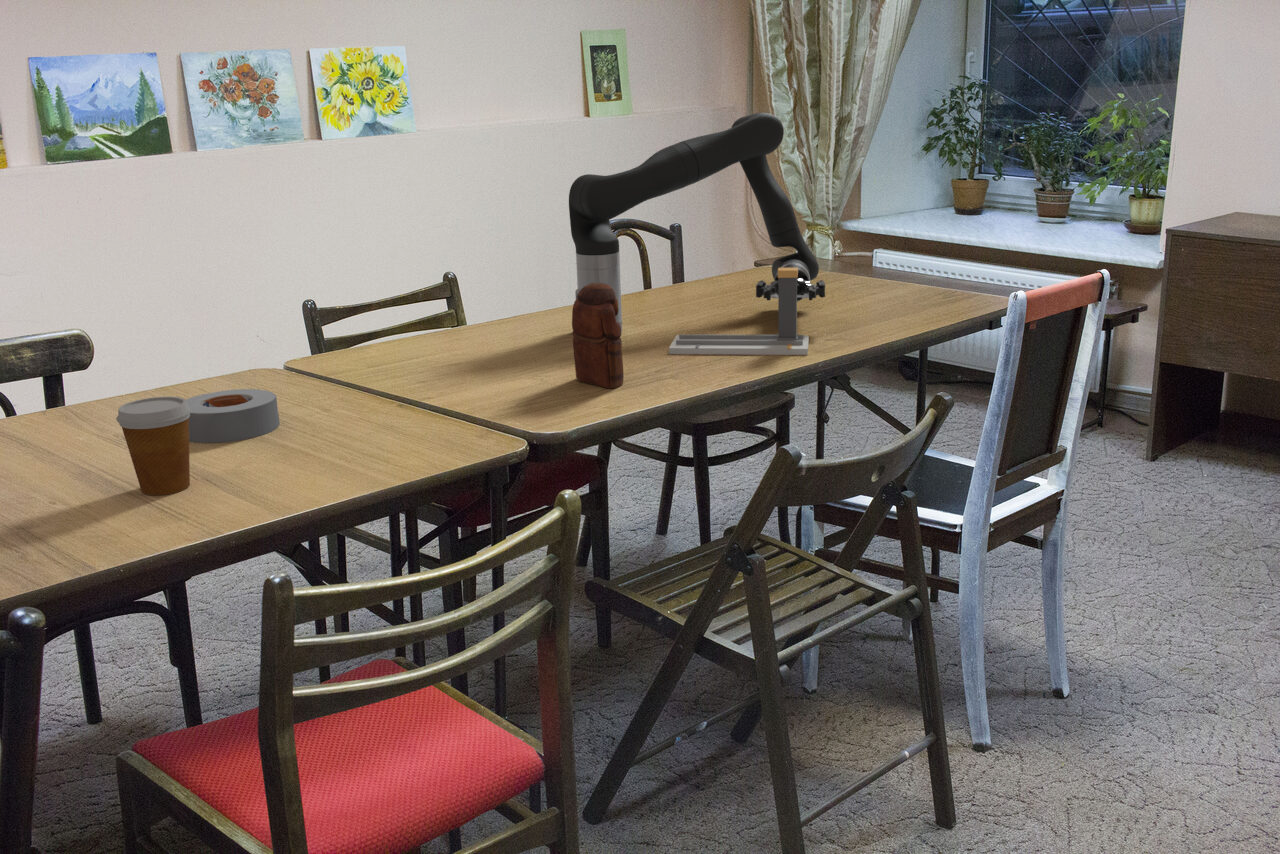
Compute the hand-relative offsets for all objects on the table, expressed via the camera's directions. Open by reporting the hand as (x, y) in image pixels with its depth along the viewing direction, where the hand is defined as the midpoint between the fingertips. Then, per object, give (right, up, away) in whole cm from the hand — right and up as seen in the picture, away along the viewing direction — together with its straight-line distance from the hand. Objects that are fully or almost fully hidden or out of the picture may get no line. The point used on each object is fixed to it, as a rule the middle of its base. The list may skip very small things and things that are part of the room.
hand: (789, 295), depth 237 cm
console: (-10, -11, -4) cm, 15 cm away
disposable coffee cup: (-96, -35, -75) cm, 127 cm away
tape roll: (-97, -27, -48) cm, 111 cm away
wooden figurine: (-37, -19, -26) cm, 50 cm away
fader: (-1, -10, -6) cm, 11 cm away
